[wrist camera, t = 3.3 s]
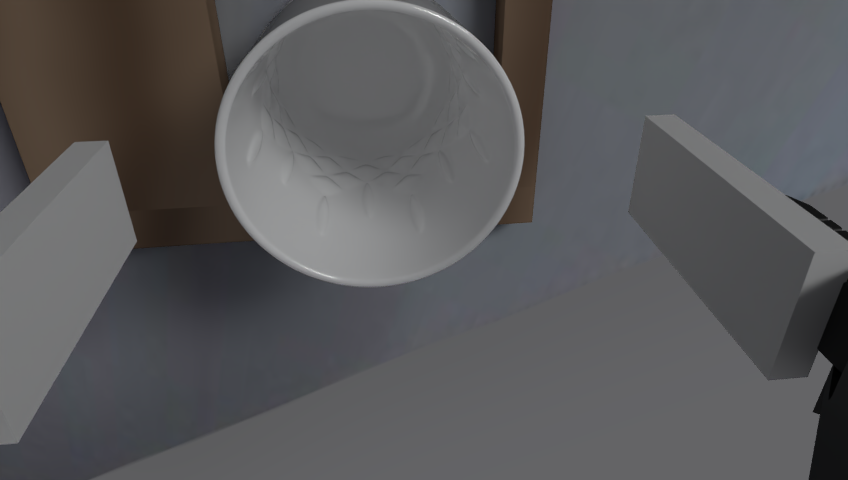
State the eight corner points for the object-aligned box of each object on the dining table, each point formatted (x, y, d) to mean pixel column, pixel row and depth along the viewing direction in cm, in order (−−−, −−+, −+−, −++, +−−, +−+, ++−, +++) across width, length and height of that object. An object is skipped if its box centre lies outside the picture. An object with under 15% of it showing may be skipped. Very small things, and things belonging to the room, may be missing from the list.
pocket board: (71, 235, 27) (57, 253, 25) (-65, -148, 19) (-94, -149, 18) (523, 206, 28) (531, 222, 27) (552, -152, 21) (566, -154, 20)
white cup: (321, 181, 27) (312, 327, 18) (218, 8, 23) (144, 90, 14) (488, 105, 26) (561, 220, 17) (412, -90, 22) (459, -64, 13)
